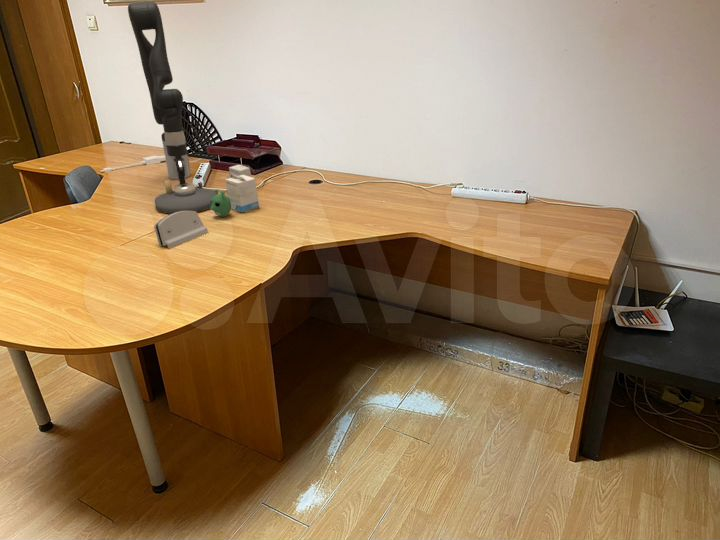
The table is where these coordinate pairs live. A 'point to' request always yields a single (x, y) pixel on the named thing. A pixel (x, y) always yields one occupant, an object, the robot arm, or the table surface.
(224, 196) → the alien toy
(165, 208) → the turntable
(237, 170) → the ink box
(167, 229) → the grey curved-top upright plate
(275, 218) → the table surface
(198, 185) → the index post
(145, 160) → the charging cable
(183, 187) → the cover
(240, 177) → the ink box
